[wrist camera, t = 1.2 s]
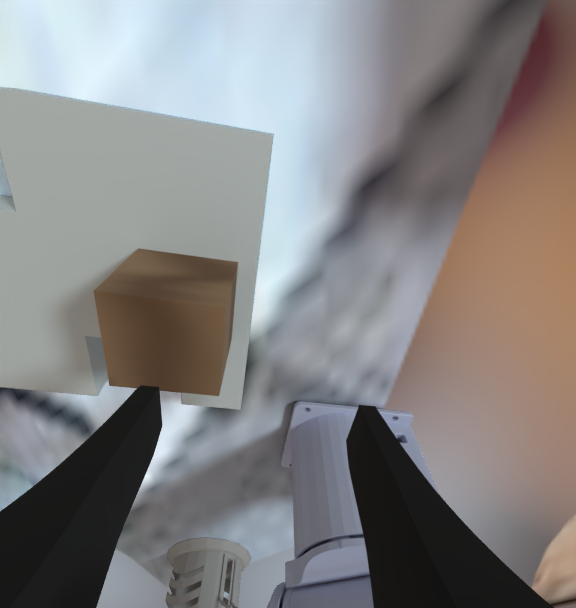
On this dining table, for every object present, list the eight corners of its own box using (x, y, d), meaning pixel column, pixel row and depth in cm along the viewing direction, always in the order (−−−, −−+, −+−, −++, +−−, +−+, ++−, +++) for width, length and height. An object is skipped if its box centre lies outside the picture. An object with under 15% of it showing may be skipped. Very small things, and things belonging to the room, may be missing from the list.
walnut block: (238, 262, 17) (225, 307, 13) (231, 339, 19) (218, 396, 15) (138, 248, 16) (93, 290, 12) (145, 329, 19) (109, 385, 15)
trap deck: (273, 133, 15) (271, 140, 12) (243, 388, 24) (235, 441, 20) (-280, 35, 13) (-513, 3, 9) (-96, 354, 22) (-178, 406, 18)
